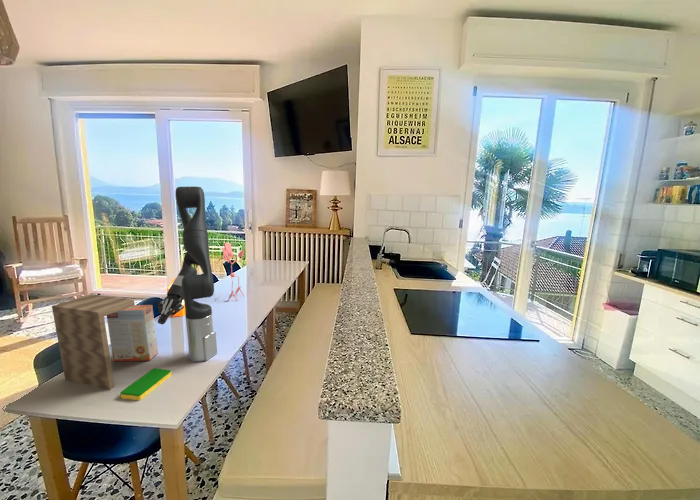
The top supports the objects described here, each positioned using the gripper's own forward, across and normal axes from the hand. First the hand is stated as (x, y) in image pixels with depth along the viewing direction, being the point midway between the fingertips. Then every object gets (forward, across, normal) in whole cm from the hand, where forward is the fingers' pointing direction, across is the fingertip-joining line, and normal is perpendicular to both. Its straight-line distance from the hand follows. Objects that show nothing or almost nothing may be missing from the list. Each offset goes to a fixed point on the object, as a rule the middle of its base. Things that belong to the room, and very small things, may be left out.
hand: (160, 323), depth 129 cm
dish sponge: (+24, +20, -11) cm, 34 cm away
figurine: (-34, -8, +47) cm, 59 cm away
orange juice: (-14, -18, +27) cm, 36 cm away
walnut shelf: (+23, 0, -11) cm, 26 cm away
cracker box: (+15, 0, -2) cm, 15 cm away
